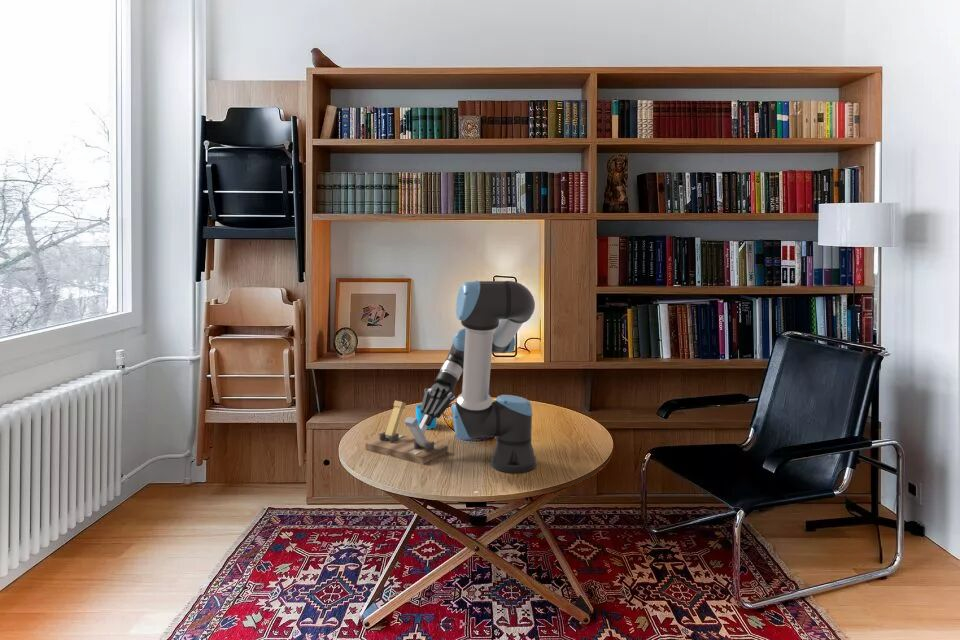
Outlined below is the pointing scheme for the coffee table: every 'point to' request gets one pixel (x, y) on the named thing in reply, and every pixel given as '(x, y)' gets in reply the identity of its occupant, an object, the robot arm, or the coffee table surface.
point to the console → (406, 448)
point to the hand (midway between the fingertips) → (420, 432)
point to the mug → (419, 416)
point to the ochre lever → (395, 418)
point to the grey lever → (416, 431)
